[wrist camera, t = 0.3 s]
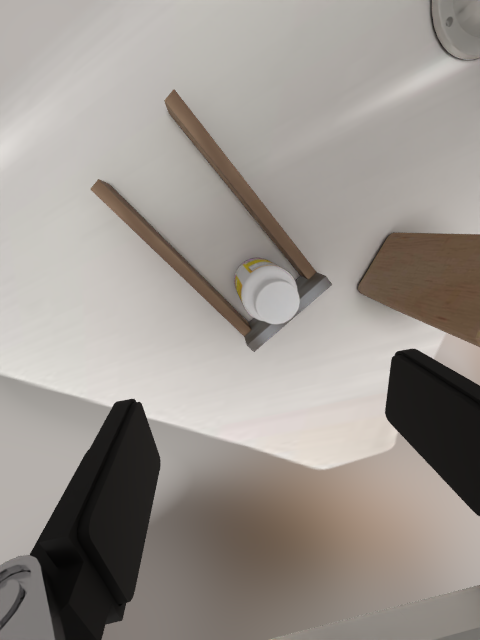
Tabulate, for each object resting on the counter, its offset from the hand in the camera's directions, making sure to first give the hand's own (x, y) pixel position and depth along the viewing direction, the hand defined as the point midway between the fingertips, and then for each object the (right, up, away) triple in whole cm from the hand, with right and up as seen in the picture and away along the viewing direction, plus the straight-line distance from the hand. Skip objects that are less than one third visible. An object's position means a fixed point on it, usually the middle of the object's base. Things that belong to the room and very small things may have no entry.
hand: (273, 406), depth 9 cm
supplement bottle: (+1, +9, +28) cm, 29 cm away
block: (+24, +11, +30) cm, 40 cm away
